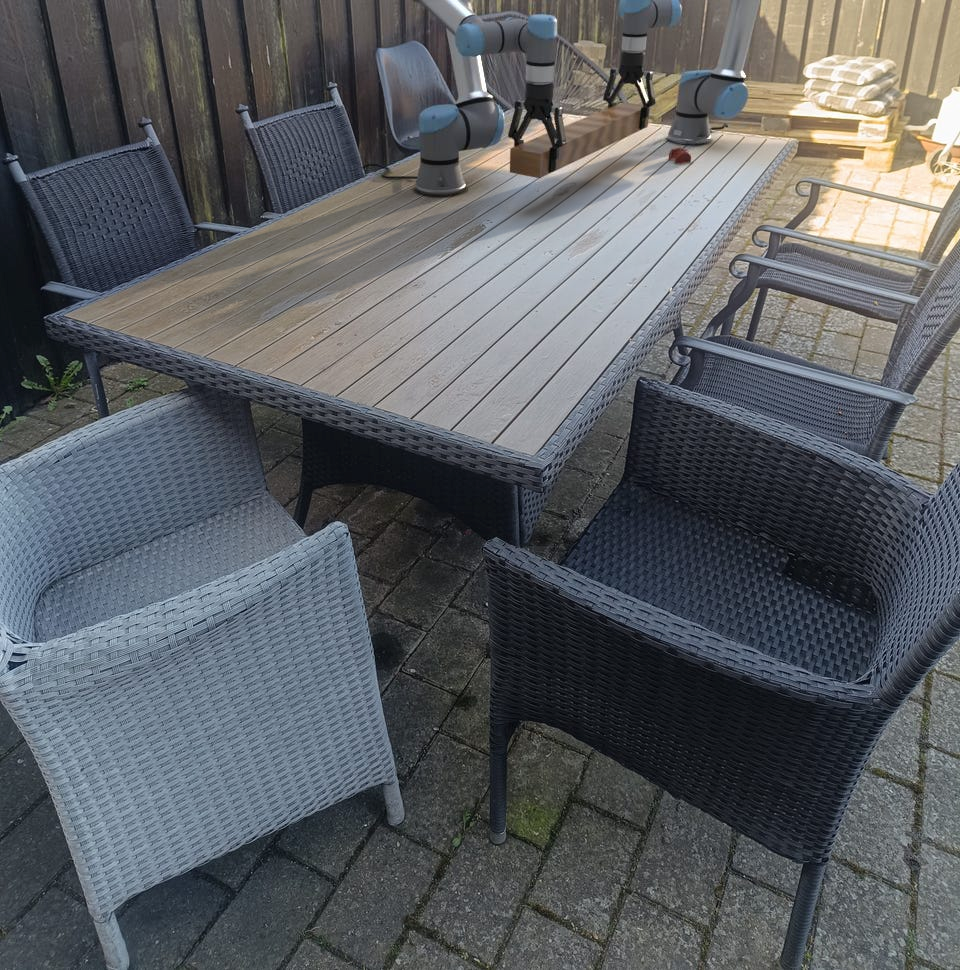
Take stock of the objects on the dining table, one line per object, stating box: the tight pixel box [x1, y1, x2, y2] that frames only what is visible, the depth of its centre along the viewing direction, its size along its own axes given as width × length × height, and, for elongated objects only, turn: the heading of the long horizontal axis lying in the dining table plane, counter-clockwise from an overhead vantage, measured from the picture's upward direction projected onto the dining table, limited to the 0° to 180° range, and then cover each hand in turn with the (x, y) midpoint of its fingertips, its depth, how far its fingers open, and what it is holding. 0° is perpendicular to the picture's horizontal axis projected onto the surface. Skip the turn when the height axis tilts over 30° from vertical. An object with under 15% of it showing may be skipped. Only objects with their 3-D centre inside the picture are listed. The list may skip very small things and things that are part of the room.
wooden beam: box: [509, 101, 651, 179], centre depth 254 cm, size 71×10×6 cm, turn 146°
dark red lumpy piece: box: [668, 146, 692, 164], centre depth 284 cm, size 6×4×8 cm
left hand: (535, 168), depth 236 cm, fingers closed on wooden beam, 10 cm apart
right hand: (626, 126), depth 276 cm, fingers closed on wooden beam, 10 cm apart
